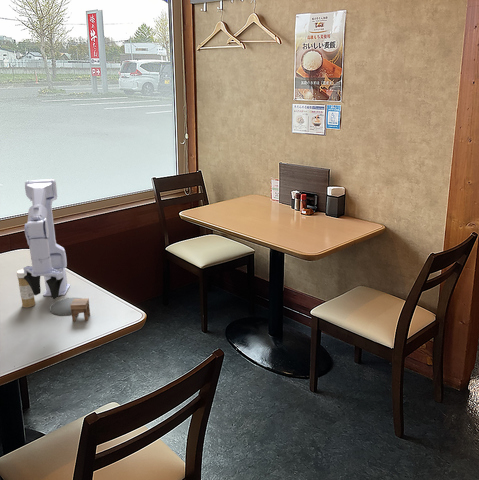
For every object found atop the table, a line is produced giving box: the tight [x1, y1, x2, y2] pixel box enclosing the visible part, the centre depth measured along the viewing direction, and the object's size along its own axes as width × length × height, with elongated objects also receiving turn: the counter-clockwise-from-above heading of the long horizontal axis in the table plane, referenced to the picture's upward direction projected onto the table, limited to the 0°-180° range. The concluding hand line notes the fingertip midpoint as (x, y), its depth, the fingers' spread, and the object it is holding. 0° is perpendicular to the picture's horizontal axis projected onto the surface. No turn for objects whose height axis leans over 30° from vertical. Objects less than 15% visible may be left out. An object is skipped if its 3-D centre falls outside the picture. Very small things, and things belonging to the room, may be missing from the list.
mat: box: [49, 297, 84, 316], centre depth 181 cm, size 13×13×1 cm
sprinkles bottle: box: [16, 268, 36, 308], centre depth 181 cm, size 5×5×14 cm
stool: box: [70, 297, 91, 322], centre depth 172 cm, size 5×5×6 cm
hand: (46, 296), depth 166 cm, fingers open, 7 cm apart
